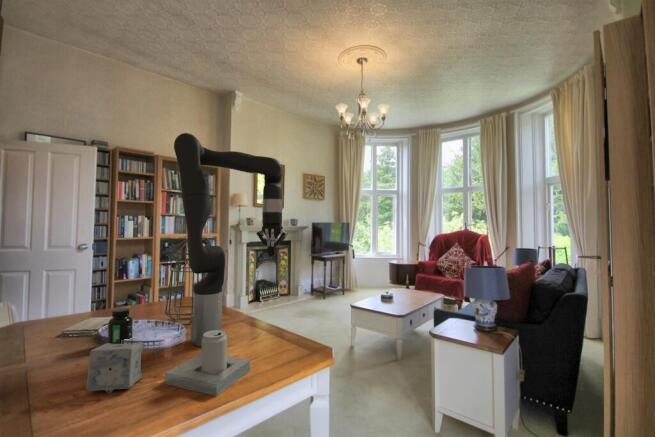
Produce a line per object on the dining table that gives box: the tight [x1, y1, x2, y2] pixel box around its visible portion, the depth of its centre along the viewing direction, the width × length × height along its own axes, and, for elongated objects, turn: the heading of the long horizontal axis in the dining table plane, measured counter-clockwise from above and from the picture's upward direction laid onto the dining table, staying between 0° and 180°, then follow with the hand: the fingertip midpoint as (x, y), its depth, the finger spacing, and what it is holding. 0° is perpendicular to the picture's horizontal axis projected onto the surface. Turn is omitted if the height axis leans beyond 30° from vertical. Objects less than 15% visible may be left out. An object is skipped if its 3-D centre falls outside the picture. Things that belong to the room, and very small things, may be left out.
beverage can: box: [201, 330, 228, 376], centre depth 84 cm, size 6×6×12 cm
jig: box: [165, 352, 251, 397], centre depth 85 cm, size 16×14×3 cm
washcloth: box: [61, 316, 113, 337], centre depth 122 cm, size 12×18×3 cm, turn 7°
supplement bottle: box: [107, 307, 134, 344], centre depth 106 cm, size 7×7×12 cm
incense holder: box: [85, 341, 144, 394], centre depth 80 cm, size 10×8×10 cm
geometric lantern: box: [163, 237, 206, 326], centre depth 132 cm, size 16×16×35 cm
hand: (272, 256), depth 121 cm, fingers closed
